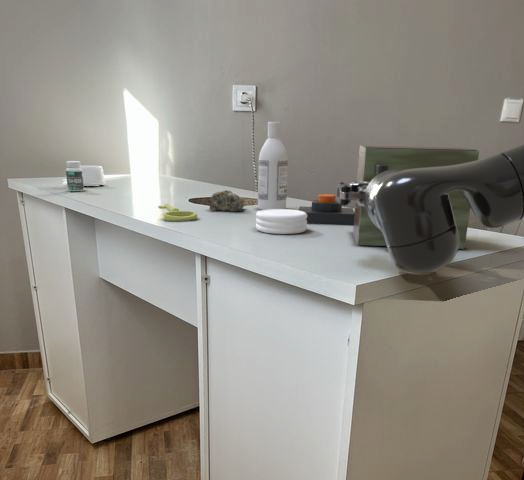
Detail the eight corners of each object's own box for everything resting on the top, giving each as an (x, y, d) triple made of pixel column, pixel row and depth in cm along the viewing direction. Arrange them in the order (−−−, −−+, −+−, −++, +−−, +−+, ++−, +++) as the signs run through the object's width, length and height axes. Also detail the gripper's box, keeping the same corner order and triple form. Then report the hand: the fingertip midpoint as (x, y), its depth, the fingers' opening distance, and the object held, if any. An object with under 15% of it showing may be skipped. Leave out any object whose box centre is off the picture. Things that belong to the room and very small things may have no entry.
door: (472, 255, 90) (489, 152, 84) (360, 251, 91) (368, 149, 85) (462, 247, 95) (477, 150, 90) (357, 243, 97) (365, 148, 91)
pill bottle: (66, 191, 164) (63, 161, 161) (68, 190, 169) (65, 160, 165) (83, 191, 165) (80, 162, 162) (85, 190, 169) (82, 161, 166)
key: (167, 212, 128) (167, 203, 127) (201, 219, 120) (201, 209, 119) (141, 215, 123) (140, 205, 123) (174, 222, 115) (173, 212, 115)
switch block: (351, 217, 127) (353, 199, 125) (354, 224, 117) (356, 205, 116) (299, 216, 128) (299, 198, 126) (297, 222, 118) (298, 203, 117)
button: (334, 202, 123) (335, 194, 122) (335, 204, 119) (335, 196, 119) (318, 202, 123) (318, 194, 122) (318, 204, 120) (319, 195, 119)
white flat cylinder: (317, 231, 108) (318, 213, 107) (277, 236, 103) (277, 217, 101) (284, 224, 116) (285, 207, 114) (245, 228, 110) (245, 210, 109)
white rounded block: (111, 185, 183) (110, 166, 181) (87, 187, 176) (85, 167, 174) (88, 183, 190) (86, 164, 187) (64, 185, 182) (61, 165, 180)
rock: (215, 207, 139) (215, 188, 137) (246, 208, 138) (246, 189, 136) (208, 211, 132) (208, 191, 131) (240, 212, 131) (240, 192, 130)
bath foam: (286, 207, 140) (289, 122, 133) (285, 211, 134) (289, 122, 127) (258, 207, 141) (260, 121, 133) (257, 210, 134) (258, 121, 127)
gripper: (338, 229, 74) (334, 212, 89) (447, 233, 72) (425, 215, 87) (342, 170, 71) (337, 163, 86) (456, 173, 70) (431, 165, 85)
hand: (382, 189), depth 87 cm, fingers open, 8 cm apart
